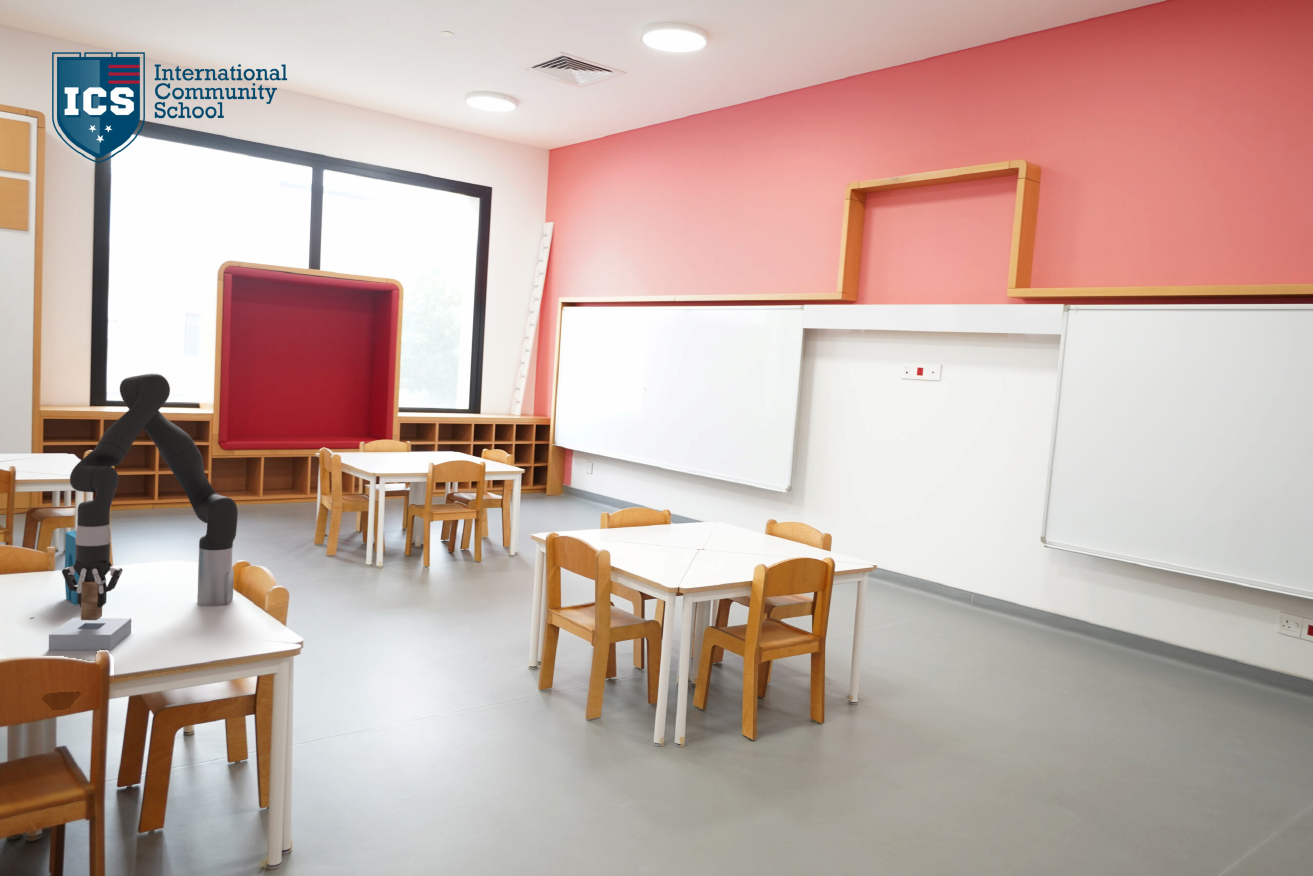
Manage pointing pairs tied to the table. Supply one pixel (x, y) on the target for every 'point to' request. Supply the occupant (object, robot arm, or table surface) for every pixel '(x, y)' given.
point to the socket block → (90, 634)
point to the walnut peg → (90, 601)
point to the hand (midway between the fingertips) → (91, 606)
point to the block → (71, 563)
